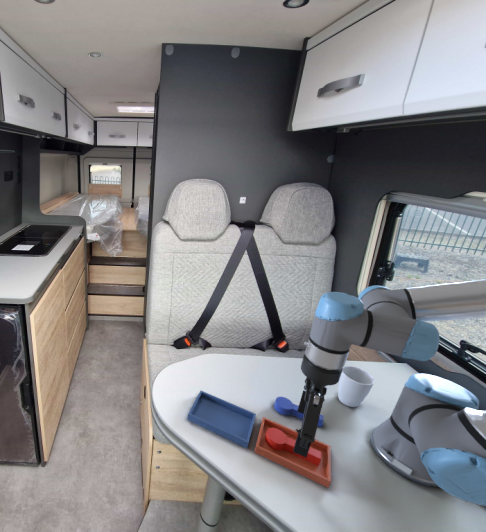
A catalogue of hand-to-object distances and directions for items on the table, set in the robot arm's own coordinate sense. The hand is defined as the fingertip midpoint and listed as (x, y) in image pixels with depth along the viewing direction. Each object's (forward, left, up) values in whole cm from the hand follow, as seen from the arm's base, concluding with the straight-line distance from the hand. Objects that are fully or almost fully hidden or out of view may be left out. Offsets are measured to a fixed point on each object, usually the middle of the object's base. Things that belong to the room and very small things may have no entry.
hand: (301, 431), depth 75 cm
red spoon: (+1, 0, -7) cm, 7 cm away
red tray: (+1, 0, -7) cm, 7 cm away
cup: (-13, -29, -8) cm, 33 cm away
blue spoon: (0, -14, -7) cm, 16 cm away
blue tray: (+19, 0, -7) cm, 20 cm away
